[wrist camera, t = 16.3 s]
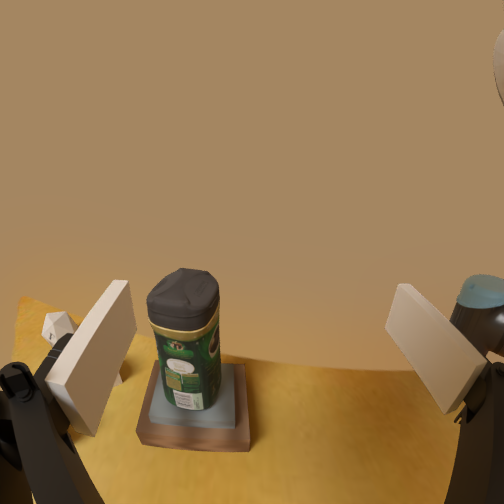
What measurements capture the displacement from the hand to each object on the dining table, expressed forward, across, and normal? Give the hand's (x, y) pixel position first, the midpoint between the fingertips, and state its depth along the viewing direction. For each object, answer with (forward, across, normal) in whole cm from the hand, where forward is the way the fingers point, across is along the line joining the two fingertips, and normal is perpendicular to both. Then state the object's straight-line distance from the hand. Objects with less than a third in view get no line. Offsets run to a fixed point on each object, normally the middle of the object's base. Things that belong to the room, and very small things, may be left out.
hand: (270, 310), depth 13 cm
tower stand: (+18, -7, -32) cm, 37 cm away
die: (+31, -39, -32) cm, 59 cm away
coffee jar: (+18, -7, -26) cm, 32 cm away
